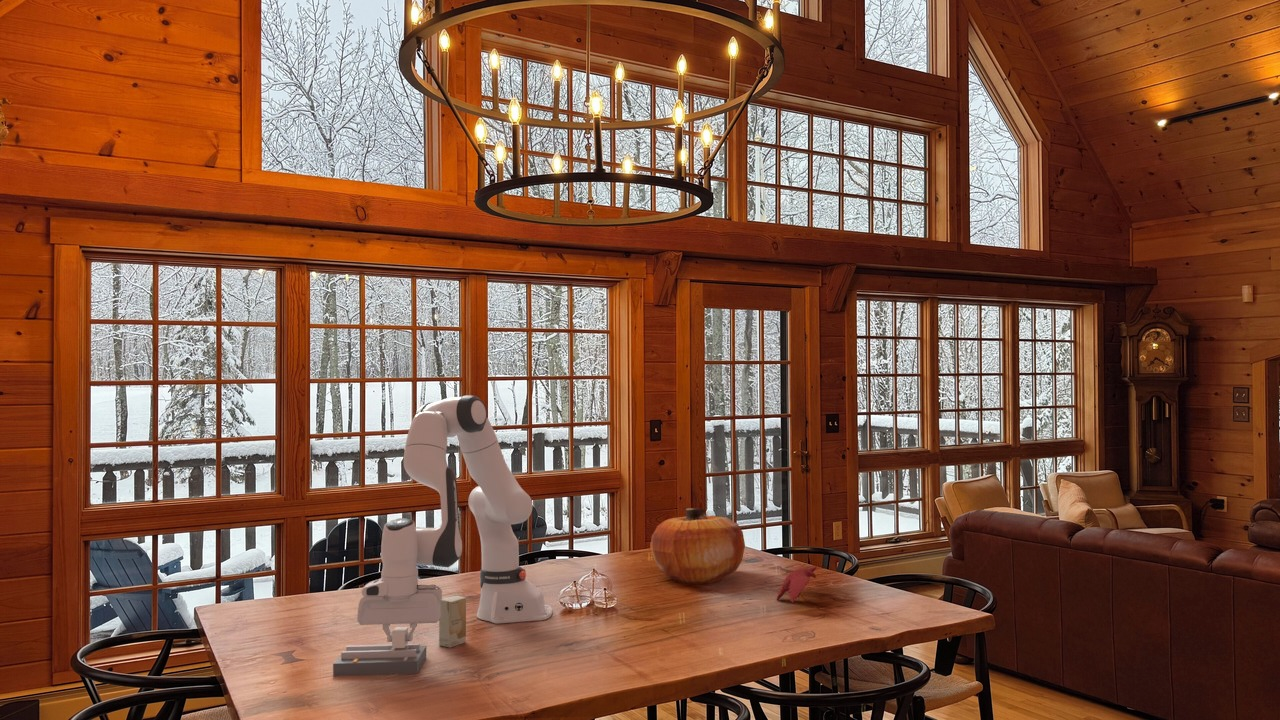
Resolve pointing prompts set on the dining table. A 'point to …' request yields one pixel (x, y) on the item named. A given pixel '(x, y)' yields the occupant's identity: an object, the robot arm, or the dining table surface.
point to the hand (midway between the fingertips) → (400, 641)
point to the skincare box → (452, 621)
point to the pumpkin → (698, 547)
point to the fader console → (379, 660)
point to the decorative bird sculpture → (796, 583)
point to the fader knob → (399, 638)
